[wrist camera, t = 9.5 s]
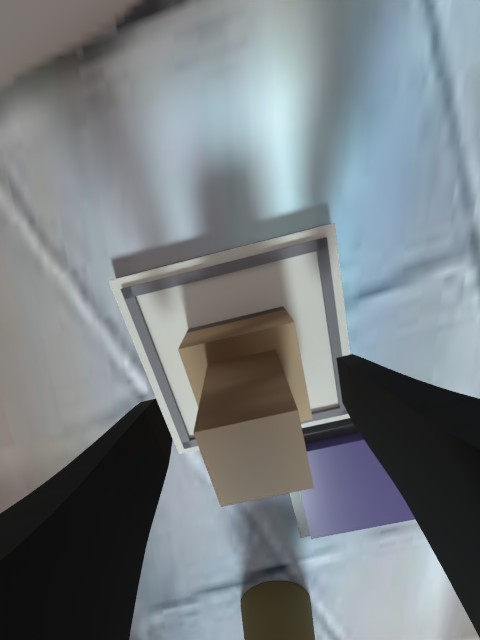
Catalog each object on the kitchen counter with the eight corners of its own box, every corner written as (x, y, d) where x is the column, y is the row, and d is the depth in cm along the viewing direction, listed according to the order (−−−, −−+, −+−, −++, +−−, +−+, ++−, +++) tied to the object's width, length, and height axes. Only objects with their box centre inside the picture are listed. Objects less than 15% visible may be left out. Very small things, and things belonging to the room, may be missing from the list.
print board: (328, 224, 12) (336, 223, 11) (351, 407, 16) (359, 418, 15) (115, 278, 13) (106, 281, 12) (182, 444, 16) (178, 456, 15)
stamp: (283, 306, 13) (329, 370, 7) (299, 389, 14) (349, 504, 8) (188, 328, 13) (147, 411, 7) (214, 408, 15) (199, 533, 8)
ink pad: (416, 400, 16) (433, 415, 14) (419, 502, 18) (433, 522, 17) (274, 430, 16) (278, 448, 15) (297, 525, 19) (302, 547, 18)
